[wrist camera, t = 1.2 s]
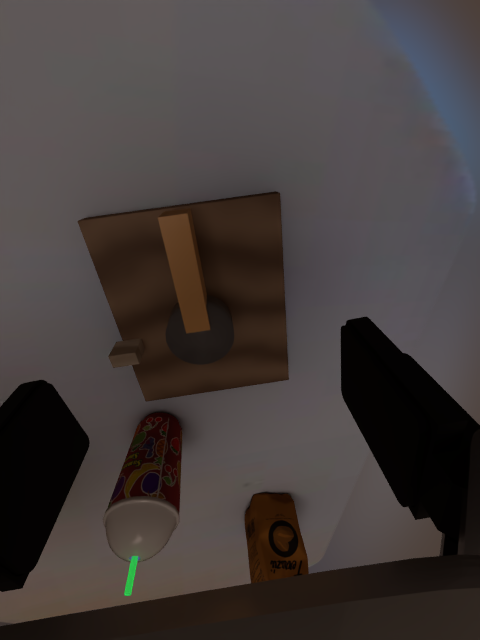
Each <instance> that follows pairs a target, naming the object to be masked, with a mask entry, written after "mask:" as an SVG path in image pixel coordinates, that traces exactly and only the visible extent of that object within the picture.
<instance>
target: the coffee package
mask: <svg viewBox="0 0 480 640" xmlns="http://www.w3.org/2000/svg"><path fill="white" fill-rule="evenodd" d="M245 530H246V538H247V547H248V557H249V568H250V578H251V583H257V582H263V581H269V580H275V579H281V578H287V577H293V576H299V575H305V574H308V558H307V554H306V550H305V547H304V543H303V539H302V536H301V532H300V528H299V524H298V519H297V515H296V510H295V505H294V501H293V499H292V498H291V497H290V495H288V494H277V493H274V494H268V493H262V494H260V493H259V494H255V495H253V497H252V501H251V505H250V508H248V510H247V511H246V514H245Z"/></svg>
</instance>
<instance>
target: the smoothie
mask: <svg viewBox="0 0 480 640" xmlns="http://www.w3.org/2000/svg"><path fill="white" fill-rule="evenodd" d="M181 453H182V428H181V426H180V425H179V422H178V420H177V419H176V418H175V417H174V416H172V415H170V414H167V413H153V414H150V415H148V416H147V417H146V418H145V419H144V420H143V421H141V422H140V424H139V425H138V426H137V429H136V432H135V435H134V437H133V440H132V443H131V445H130V448H129V451H128V454H127V456H126V459H125V462H124V464H123V467H122V470H121V473H120V475H119V478H118V481H117V483H116V486H115V489H114V492H113V494H112V497H111V500H110V502H109V505H108V509H107V510H106V512H105V515H104V518H103V522H104V526H105V528H106V536H107V540H108V543H109V546H110V548H111V550H112V551H113V552H114V553H115V554H116V555H117V556H118V557H119V558H121V559H123V560H125V561H128V562H131V563H130V568H129V573H128V578H127V583H126V588H125V593H124V595H125V596H130V595H131V592H132V587H133V581H134V576H135V571H136V566H137V562H141V561H145V560H147V559H150V558H152V557H153V556H155V555H156V554H157V553H158V552H160V551H161V550H162V549H163V548H164V546H165V545H166V544H167V542H168V540H169V539H170V537H171V535H172V533H173V531H174V530H175V529H176V527H177V526H178V524H179V508H180V480H181Z"/></svg>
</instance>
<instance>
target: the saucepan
mask: <svg viewBox="0 0 480 640" xmlns="http://www.w3.org/2000/svg"><path fill="white" fill-rule="evenodd" d="M158 221H159V225H160V229H161V233H162V237H163V241H164V245H165V249H166V253H167V257H168V261H169V265H170V270H171V274H172V278H173V282H174V286H175V290H176V294H177V298H178V303H177V304H176V305H175V306H174V308H173V309H172V311H171V314H170V317H169V321H168V325H167V328H166V334H165V335H166V342H167V345H168V347H169V349H170V350H171V352H172V353H173V354H174V355H175V356H177V357H178V358H179V359H181V360H183V361H185V362H188V363H191V364H198V365H203V364H209V363H213V362H216V361H218V360H220V359H221V358H223V357H224V356H225V355H226V354H227V353H228V352H229V351H230V349H231V347H232V345H233V342H234V327H233V320H232V315H231V312H230V310H229V309H228V307H227V306H226V305H225V304H224V303H223V302H222V301H221V300H219V299H218V298H216V297H213V296H210V295H207V293H206V288H205V282H204V277H203V272H202V267H201V262H200V256H199V251H198V246H197V241H196V235H195V230H194V225H193V220H192V214H191V209H190V208H186V209H179V210H171V211H164V212H163V213H162V214H161V215H160V216H159V217H158Z"/></svg>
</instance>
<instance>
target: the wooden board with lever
mask: <svg viewBox="0 0 480 640" xmlns="http://www.w3.org/2000/svg"><path fill="white" fill-rule="evenodd" d="M186 208H190V209H191V214H192V220H193V225H194V230H195V235H196V241H197V246H198V251H199V256H200V262H201V267H202V272H203V277H204V282H205V288H206V293H207V295H210V296H213V297H216V298H218V299H219V300H221V301H222V302H223V303H224V304H225V305H226V306H227V307H228V309H229V310H230V312H231V315H232V320H233V327H234V342H233V345H232V347H231V349H230V351H229V352H228V353H227V354H226V355H225V356H224V357H223V358H221V359H220V360H218V361H216V362H213V363H209V364H203V365H198V364H191V363H188V362H185V361H183V360H181V359H179V358H178V357H177V356H175V355H174V354H173V353H172V352H171V350H170V349H169V347H168V345H167V342H166V335H165V334H166V328H167V325H168V321H169V317H170V314H171V311H172V309H173V308H174V306H175V305H176V304H177V303H178V298H177V294H176V290H175V286H174V282H173V278H172V274H171V270H170V265H169V261H168V257H167V253H166V249H165V245H164V241H163V237H162V233H161V229H160V225H159V221H158V217H159V216H160V215H161V214H162V213H163V212H164V211H171V210H179V209H186ZM78 224H79V226H80V229H81V232H82V234H83V237H84V240H85V242H86V245H87V247H88V250H89V253H90V255H91V258H92V261H93V263H94V266H95V269H96V271H97V274H98V276H99V279H100V282H101V284H102V287H103V290H104V292H105V295H106V298H107V300H108V303H109V306H110V308H111V311H112V313H113V316H114V319H115V321H116V324H117V327H118V329H119V332H120V335H121V337H122V340H123V341H120V342H116V344H115V345H114V347H113V349H112V351H111V353H110V355H109V356H108V357H109V359H110V361H111V364H112V366H113V368H115V367H122V366H128V365H132V366H133V369H134V371H135V374H136V377H137V379H138V382H139V385H140V387H141V390H142V393H143V395H144V398H145V400H146V401H152V400H159V399H165V398H172V397H178V396H185V395H192V394H198V393H205V392H211V391H218V390H224V389H231V388H237V387H244V386H250V385H257V384H263V383H270V382H277V381H283V380H289V376H288V354H287V333H286V311H285V290H284V268H283V247H282V225H281V204H280V193H279V192H269V193H262V194H255V195H248V196H240V197H233V198H226V199H219V200H211V201H204V202H197V203H190V204H182V205H175V206H168V207H161V208H154V209H146V210H139V211H132V212H125V213H117V214H110V215H103V216H96V217H88V218H84V219H81V220H79V221H78Z"/></svg>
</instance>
